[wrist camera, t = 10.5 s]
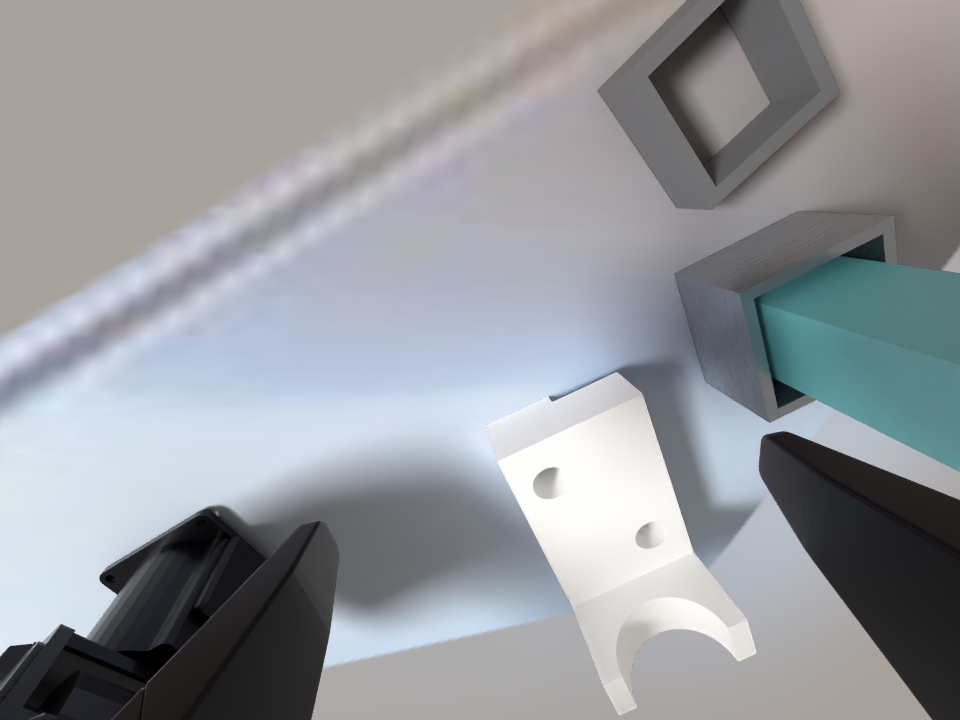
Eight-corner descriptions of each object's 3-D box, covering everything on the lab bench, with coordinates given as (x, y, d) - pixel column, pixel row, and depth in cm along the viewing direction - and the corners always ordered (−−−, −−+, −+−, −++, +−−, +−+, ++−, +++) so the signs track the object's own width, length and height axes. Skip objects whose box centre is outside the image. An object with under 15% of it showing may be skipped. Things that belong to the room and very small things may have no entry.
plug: (735, 361, 22) (1120, 560, 10) (714, 289, 21) (1143, 422, 9) (810, 323, 22) (1292, 477, 10) (796, 246, 20) (1348, 320, 8)
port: (706, 382, 24) (769, 422, 19) (674, 274, 21) (739, 293, 17) (816, 327, 23) (904, 356, 19) (797, 211, 21) (893, 215, 17)
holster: (676, 207, 20) (711, 209, 18) (597, 90, 18) (625, 74, 16) (788, 104, 19) (840, 92, 17) (719, -33, 17) (768, -68, 15)
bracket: (668, 536, 28) (756, 653, 21) (566, 584, 28) (618, 715, 21) (608, 364, 23) (697, 440, 16) (484, 423, 23) (517, 524, 16)
